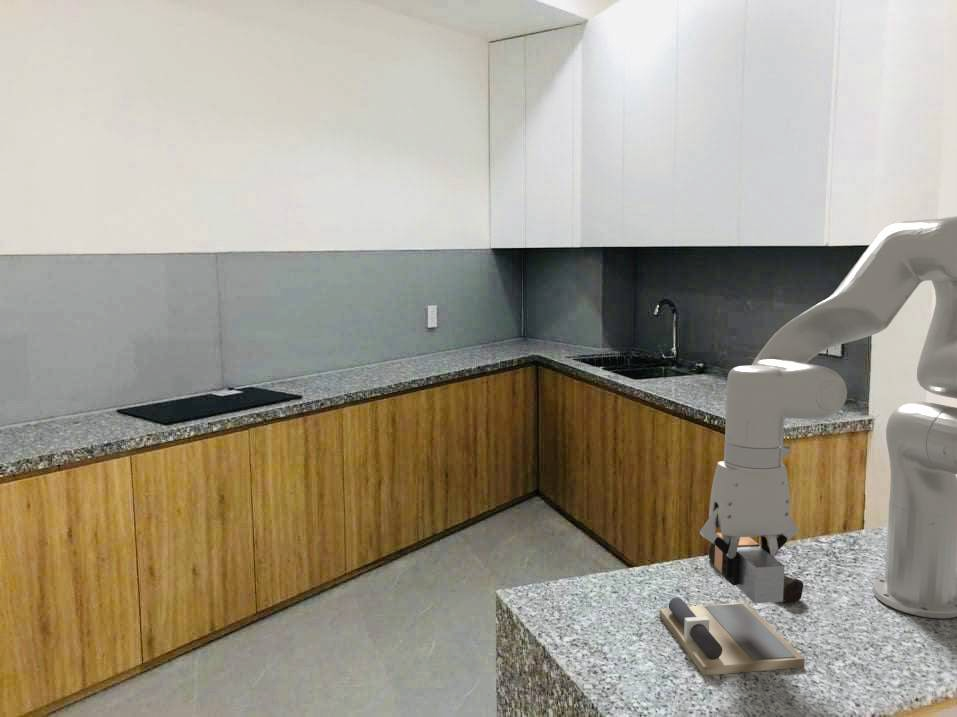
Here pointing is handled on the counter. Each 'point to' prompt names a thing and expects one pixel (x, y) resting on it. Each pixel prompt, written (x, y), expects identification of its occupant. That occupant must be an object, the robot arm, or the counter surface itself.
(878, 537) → the counter surface
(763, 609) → the counter surface
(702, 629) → the rod
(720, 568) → the grey and copper block
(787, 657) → the board
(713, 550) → the hand tool
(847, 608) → the counter surface
